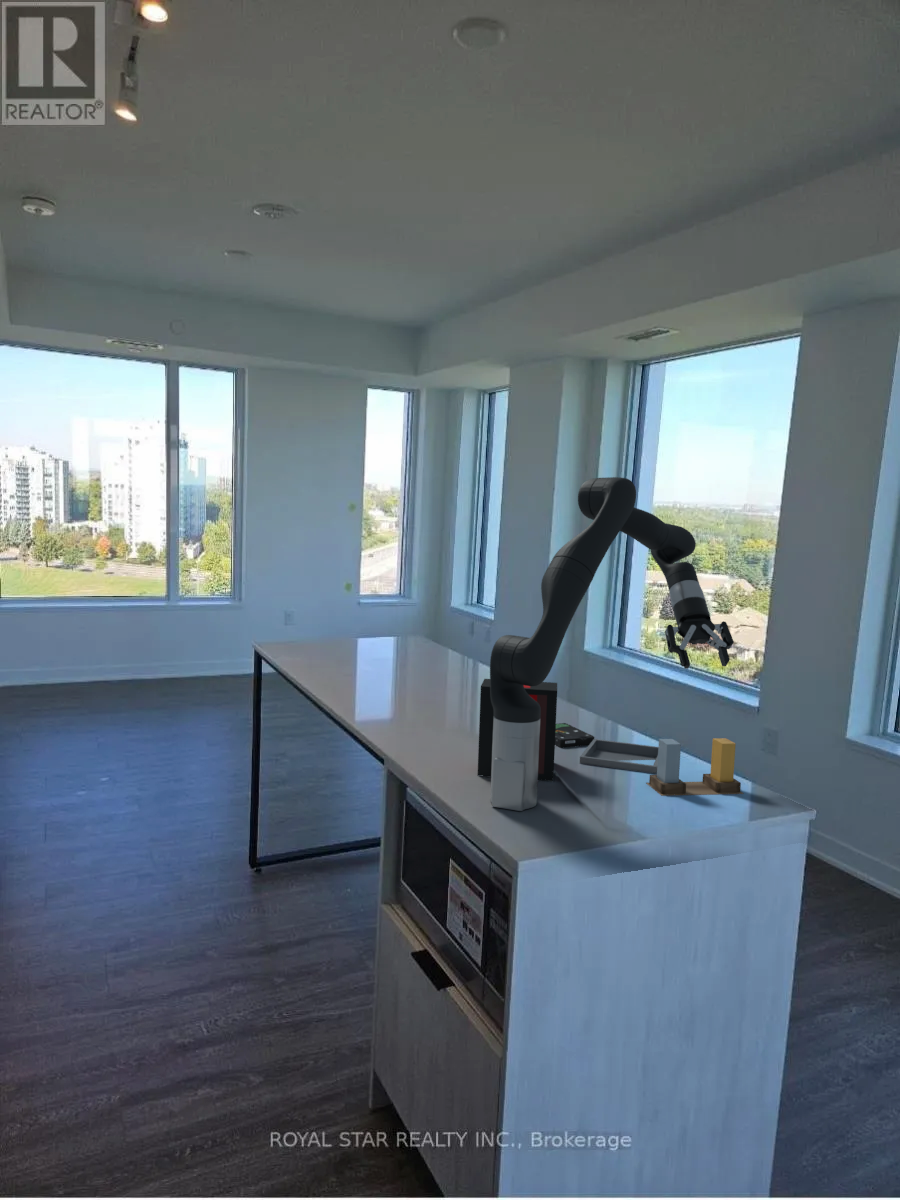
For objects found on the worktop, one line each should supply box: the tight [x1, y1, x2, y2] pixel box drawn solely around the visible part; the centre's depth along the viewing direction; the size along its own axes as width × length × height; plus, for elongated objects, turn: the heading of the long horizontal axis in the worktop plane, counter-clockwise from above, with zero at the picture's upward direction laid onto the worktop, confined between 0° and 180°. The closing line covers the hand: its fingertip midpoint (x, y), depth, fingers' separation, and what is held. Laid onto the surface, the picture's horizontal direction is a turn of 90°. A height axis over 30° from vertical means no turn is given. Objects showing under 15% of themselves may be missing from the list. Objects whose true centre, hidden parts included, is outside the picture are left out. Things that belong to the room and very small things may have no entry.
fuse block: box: [645, 773, 744, 797], centre depth 162 cm, size 8×18×4 cm, turn 99°
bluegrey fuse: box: [656, 738, 682, 783], centre depth 161 cm, size 4×3×10 cm
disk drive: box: [555, 722, 596, 749], centre depth 204 cm, size 10×3×15 cm
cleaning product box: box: [477, 678, 558, 782], centre depth 173 cm, size 16×9×20 cm, turn 82°
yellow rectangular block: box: [709, 737, 736, 782], centre depth 163 cm, size 4×3×10 cm
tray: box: [579, 738, 659, 775], centre depth 182 cm, size 17×17×3 cm
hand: (706, 666), depth 172 cm, fingers open, 8 cm apart
